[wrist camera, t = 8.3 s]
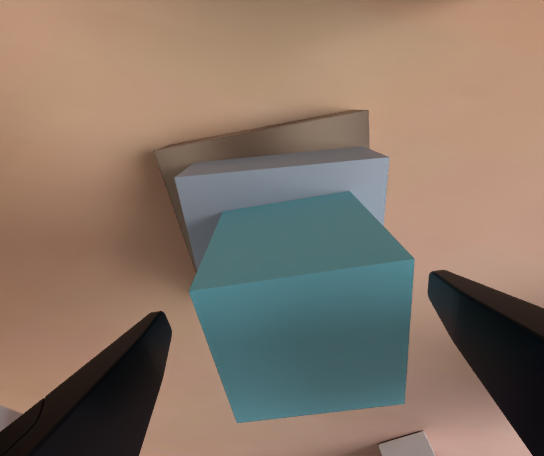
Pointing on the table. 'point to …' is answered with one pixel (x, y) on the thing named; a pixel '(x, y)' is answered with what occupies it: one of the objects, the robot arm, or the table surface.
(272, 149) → the tan flat square block
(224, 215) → the teal cube
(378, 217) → the grey slab
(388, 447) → the ink cartridge box
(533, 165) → the table surface
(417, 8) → the table surface
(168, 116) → the table surface
